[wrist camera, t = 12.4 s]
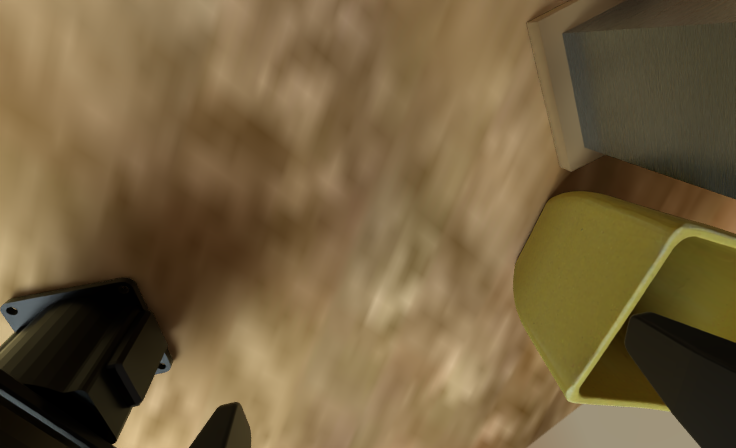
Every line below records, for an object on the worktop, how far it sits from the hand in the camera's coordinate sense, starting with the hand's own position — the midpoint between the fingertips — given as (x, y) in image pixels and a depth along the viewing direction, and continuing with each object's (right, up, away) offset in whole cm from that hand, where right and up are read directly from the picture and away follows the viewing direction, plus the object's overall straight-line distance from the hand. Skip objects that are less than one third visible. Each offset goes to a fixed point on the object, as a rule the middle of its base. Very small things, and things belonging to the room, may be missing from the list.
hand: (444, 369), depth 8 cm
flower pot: (+11, +2, +16) cm, 19 cm away
